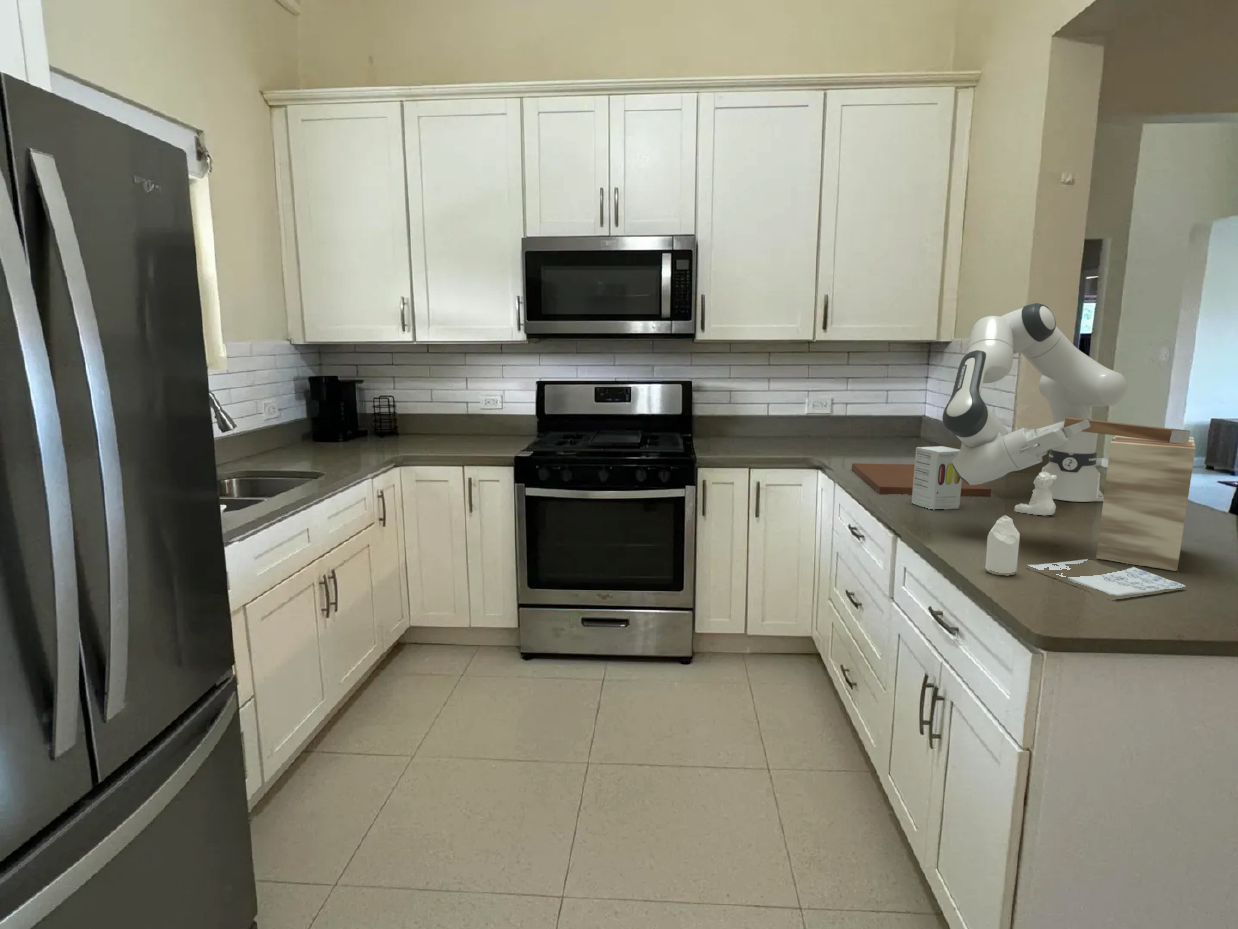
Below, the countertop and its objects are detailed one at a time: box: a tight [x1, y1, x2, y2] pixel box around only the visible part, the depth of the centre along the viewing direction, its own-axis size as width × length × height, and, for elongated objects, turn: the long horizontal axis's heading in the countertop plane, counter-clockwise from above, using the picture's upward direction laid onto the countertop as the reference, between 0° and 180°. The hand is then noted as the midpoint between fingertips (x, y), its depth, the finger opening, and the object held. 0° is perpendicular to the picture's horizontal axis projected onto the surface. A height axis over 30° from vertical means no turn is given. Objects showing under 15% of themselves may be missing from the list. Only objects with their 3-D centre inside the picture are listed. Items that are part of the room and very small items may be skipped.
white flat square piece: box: [1027, 558, 1187, 596], centre depth 141 cm, size 19×20×2 cm
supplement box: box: [911, 445, 962, 511], centre depth 200 cm, size 10×9×17 cm
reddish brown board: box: [851, 462, 992, 498], centre depth 234 cm, size 40×3×33 cm
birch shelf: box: [1095, 435, 1196, 571], centre depth 154 cm, size 20×14×26 cm
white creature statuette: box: [1013, 471, 1057, 516], centre depth 191 cm, size 10×9×12 cm
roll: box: [985, 515, 1021, 573], centre depth 144 cm, size 6×12×6 cm
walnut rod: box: [1064, 417, 1191, 445], centre depth 151 cm, size 4×22×2 cm, turn 53°
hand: (1090, 421), depth 154 cm, fingers closed on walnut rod, 3 cm apart
